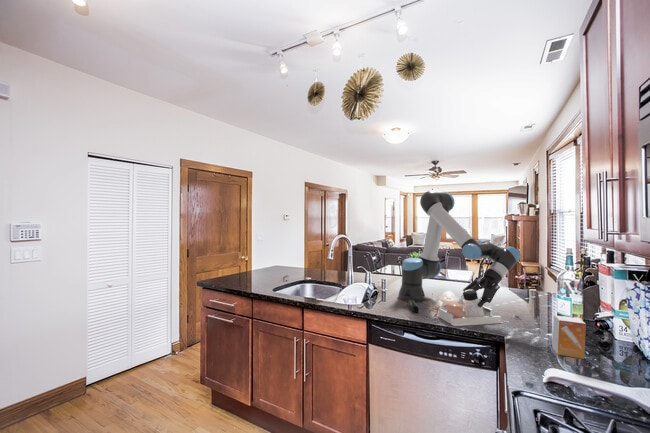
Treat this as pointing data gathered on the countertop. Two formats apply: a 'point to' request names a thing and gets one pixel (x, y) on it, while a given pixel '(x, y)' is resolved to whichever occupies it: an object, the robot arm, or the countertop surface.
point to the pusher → (487, 311)
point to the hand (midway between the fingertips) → (465, 307)
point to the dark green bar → (413, 306)
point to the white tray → (467, 319)
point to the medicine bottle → (471, 304)
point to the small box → (569, 336)
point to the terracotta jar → (455, 310)
